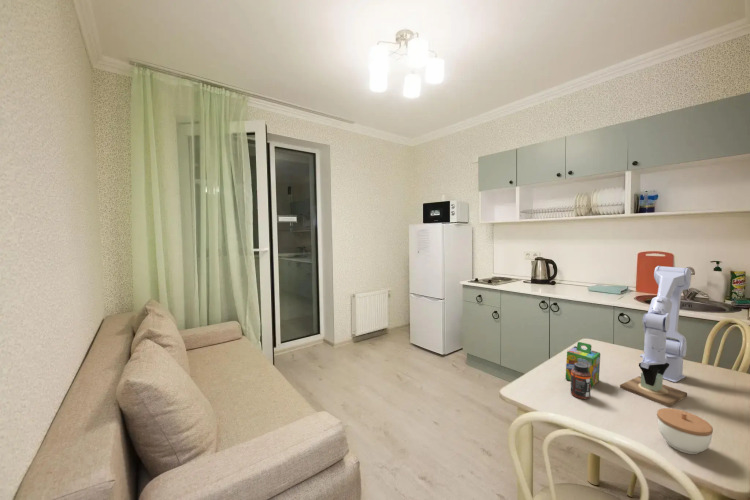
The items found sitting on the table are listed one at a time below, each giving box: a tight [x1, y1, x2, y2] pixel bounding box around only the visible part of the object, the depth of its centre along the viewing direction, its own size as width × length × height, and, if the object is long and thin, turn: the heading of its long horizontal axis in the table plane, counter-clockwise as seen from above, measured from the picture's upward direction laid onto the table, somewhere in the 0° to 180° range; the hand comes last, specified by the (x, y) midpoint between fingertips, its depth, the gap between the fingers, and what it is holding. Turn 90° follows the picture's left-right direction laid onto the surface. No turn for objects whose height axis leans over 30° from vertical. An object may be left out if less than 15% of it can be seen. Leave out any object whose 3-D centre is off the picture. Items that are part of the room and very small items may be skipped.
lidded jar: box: [656, 407, 714, 455], centre depth 84 cm, size 11×11×9 cm
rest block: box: [640, 371, 664, 391], centre depth 111 cm, size 4×4×5 cm
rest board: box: [619, 375, 688, 408], centre depth 111 cm, size 14×14×1 cm
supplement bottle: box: [570, 363, 592, 400], centre depth 110 cm, size 6×6×11 cm
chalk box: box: [565, 341, 601, 389], centre depth 120 cm, size 9×9×15 cm
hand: (653, 382), depth 111 cm, fingers closed on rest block, 4 cm apart
